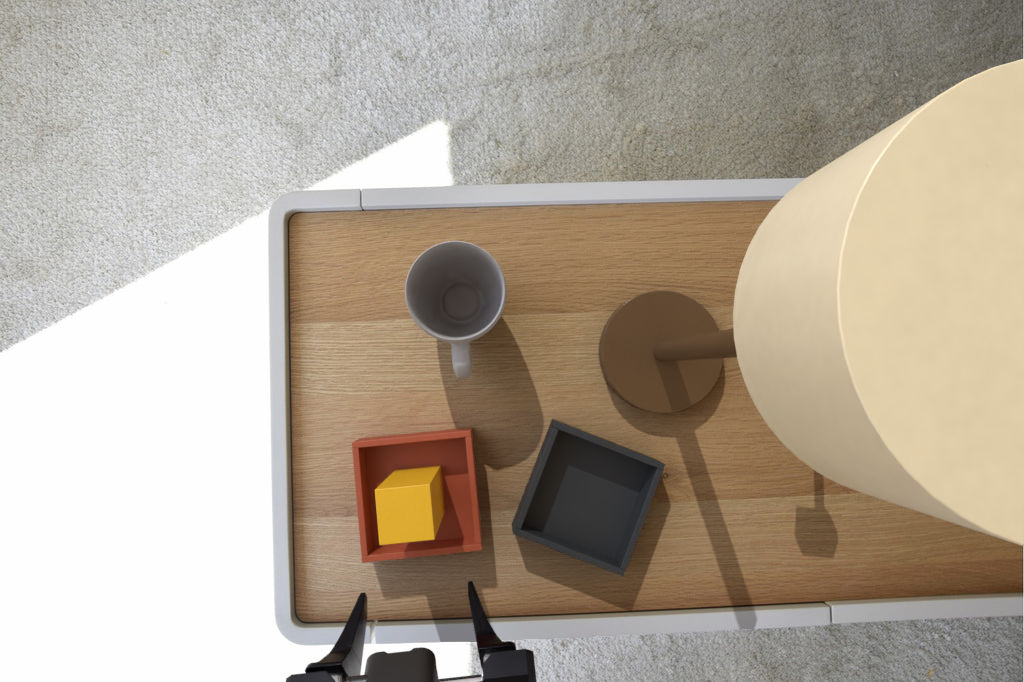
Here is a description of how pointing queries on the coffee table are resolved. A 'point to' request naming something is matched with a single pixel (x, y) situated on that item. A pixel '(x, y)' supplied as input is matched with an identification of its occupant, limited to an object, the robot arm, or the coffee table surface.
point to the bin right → (587, 497)
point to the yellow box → (410, 505)
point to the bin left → (459, 487)
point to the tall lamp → (876, 315)
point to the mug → (456, 296)
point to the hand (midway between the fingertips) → (417, 588)
